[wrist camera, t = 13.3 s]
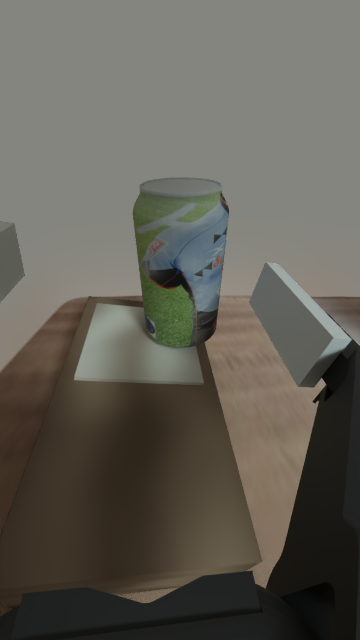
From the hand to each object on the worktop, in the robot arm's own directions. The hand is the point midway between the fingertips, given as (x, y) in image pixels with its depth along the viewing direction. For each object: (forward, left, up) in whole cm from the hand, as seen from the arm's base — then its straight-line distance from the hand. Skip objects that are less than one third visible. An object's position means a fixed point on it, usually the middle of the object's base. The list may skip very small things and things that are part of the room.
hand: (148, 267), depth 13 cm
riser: (0, +1, -13) cm, 13 cm away
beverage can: (-3, -4, -8) cm, 10 cm away
